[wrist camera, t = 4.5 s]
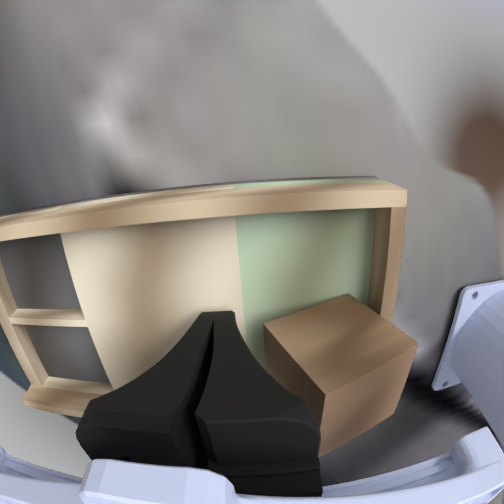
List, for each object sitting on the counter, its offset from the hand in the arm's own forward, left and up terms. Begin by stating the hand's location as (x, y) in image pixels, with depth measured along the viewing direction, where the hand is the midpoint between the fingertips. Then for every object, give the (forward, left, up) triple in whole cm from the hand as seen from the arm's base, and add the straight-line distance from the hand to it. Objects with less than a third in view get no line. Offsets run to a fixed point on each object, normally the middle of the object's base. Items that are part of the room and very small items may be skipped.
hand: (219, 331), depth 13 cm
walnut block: (-4, +1, 0) cm, 4 cm away
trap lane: (+3, 0, -2) cm, 4 cm away
